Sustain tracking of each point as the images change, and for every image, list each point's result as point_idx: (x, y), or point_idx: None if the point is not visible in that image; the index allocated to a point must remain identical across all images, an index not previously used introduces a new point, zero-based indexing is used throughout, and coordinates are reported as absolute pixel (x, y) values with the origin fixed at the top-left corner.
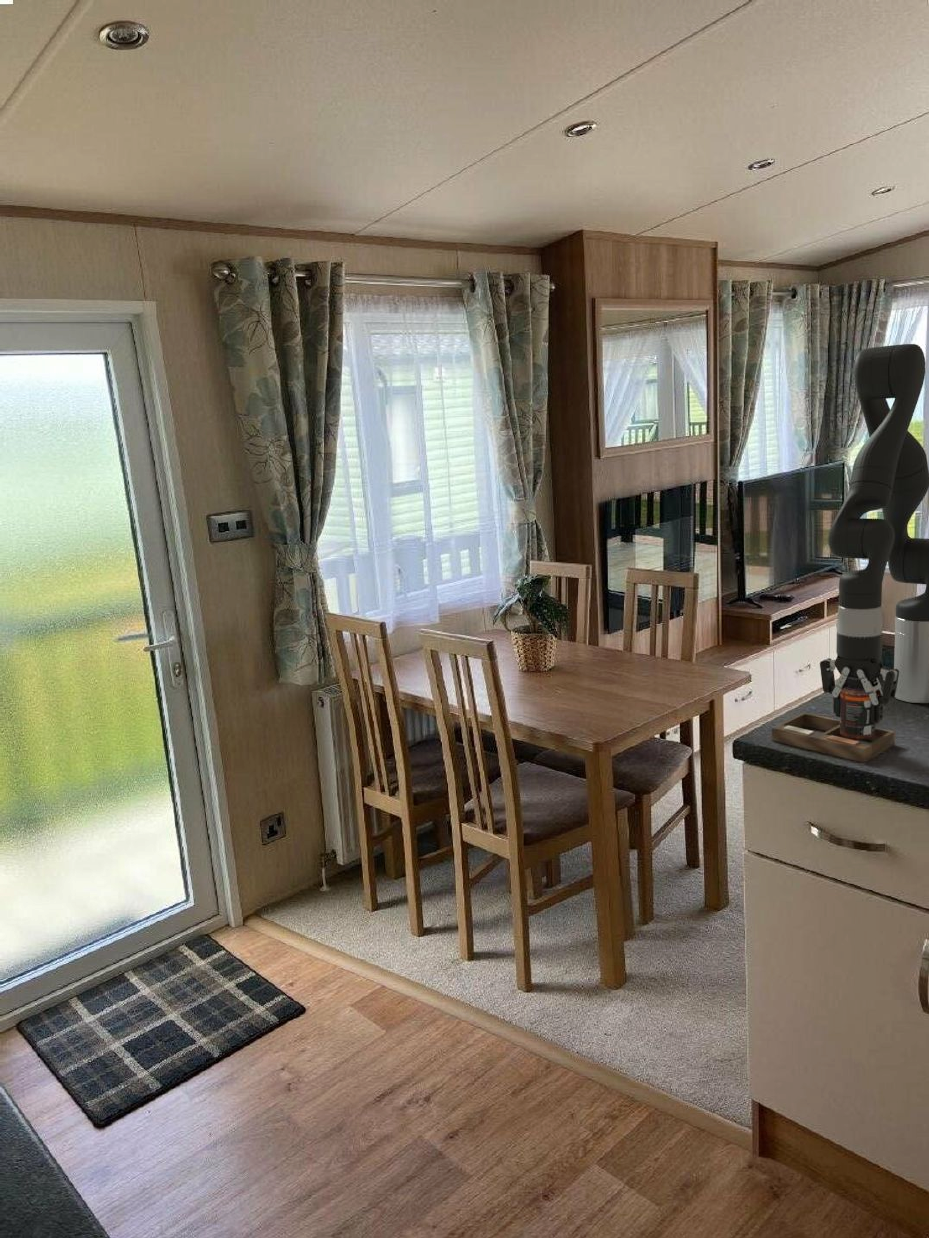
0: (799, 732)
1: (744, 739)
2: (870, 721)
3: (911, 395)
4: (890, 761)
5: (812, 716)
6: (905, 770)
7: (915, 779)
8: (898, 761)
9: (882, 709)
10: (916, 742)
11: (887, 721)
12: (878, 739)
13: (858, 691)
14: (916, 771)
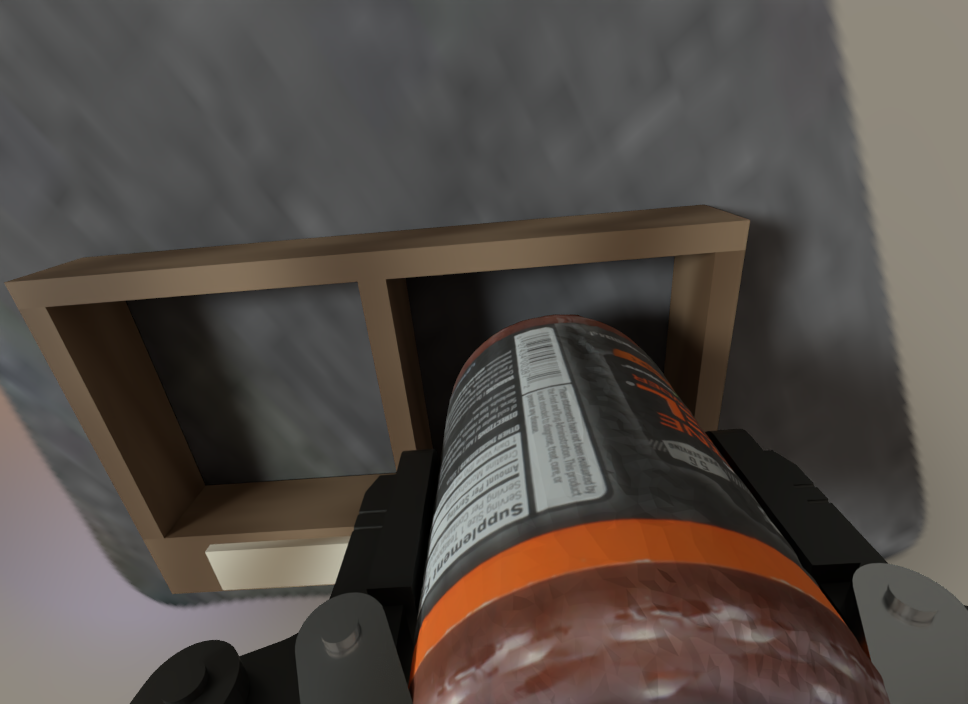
0: (321, 579)
1: (133, 586)
2: None
3: None
4: (765, 432)
5: (112, 298)
6: (855, 477)
7: (913, 526)
8: (799, 410)
9: (849, 535)
10: (819, 55)
11: None
12: (704, 417)
13: None
14: (904, 459)
